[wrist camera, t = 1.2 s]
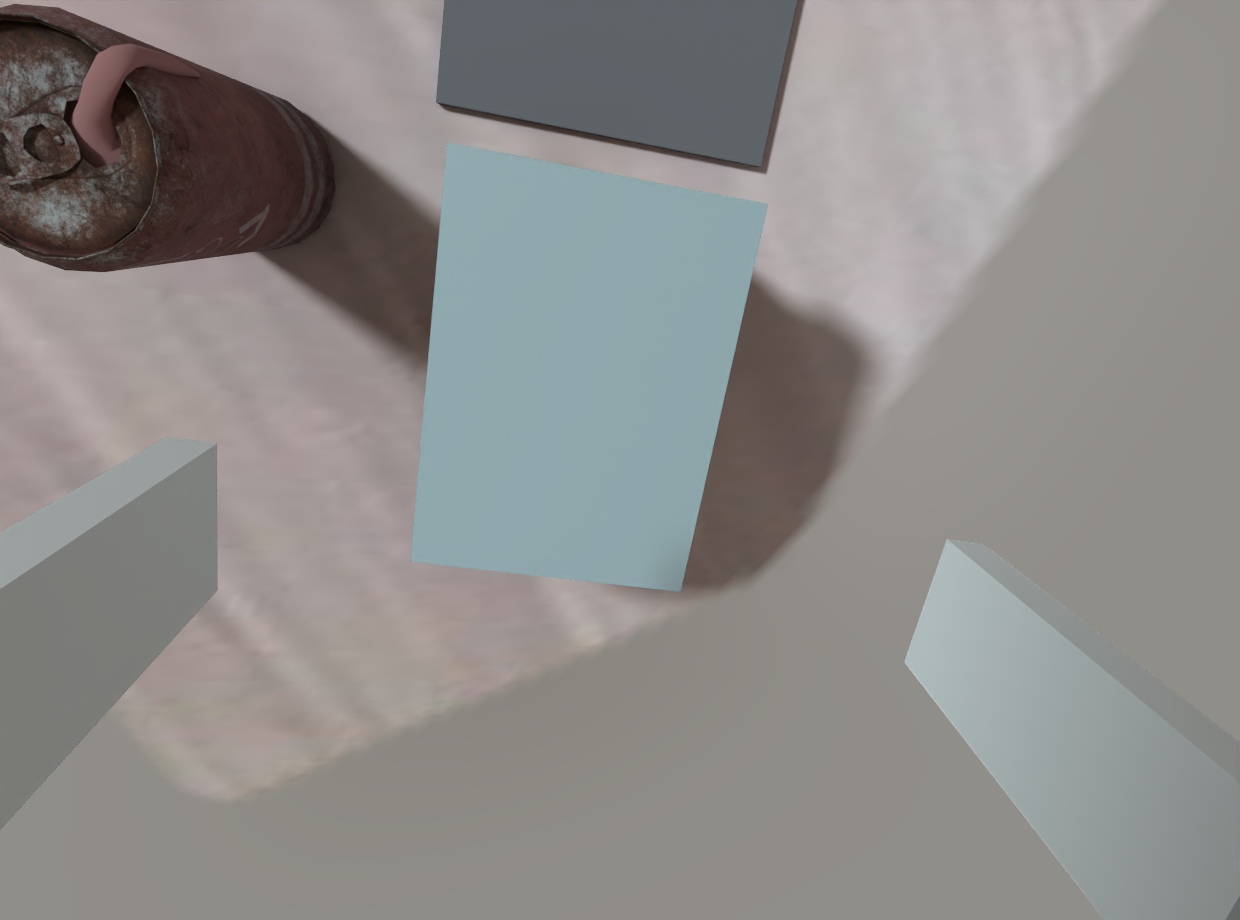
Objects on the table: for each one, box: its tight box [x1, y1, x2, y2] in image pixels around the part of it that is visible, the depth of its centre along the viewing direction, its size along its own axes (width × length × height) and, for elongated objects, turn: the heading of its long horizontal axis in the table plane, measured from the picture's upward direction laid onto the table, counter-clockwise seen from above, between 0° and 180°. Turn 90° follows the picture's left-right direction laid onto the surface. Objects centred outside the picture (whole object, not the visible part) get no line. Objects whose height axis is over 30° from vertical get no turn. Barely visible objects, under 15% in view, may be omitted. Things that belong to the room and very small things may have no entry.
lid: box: [410, 143, 768, 592], centre depth 27 cm, size 14×10×6 cm
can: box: [0, 4, 335, 272], centre depth 23 cm, size 6×6×14 cm
